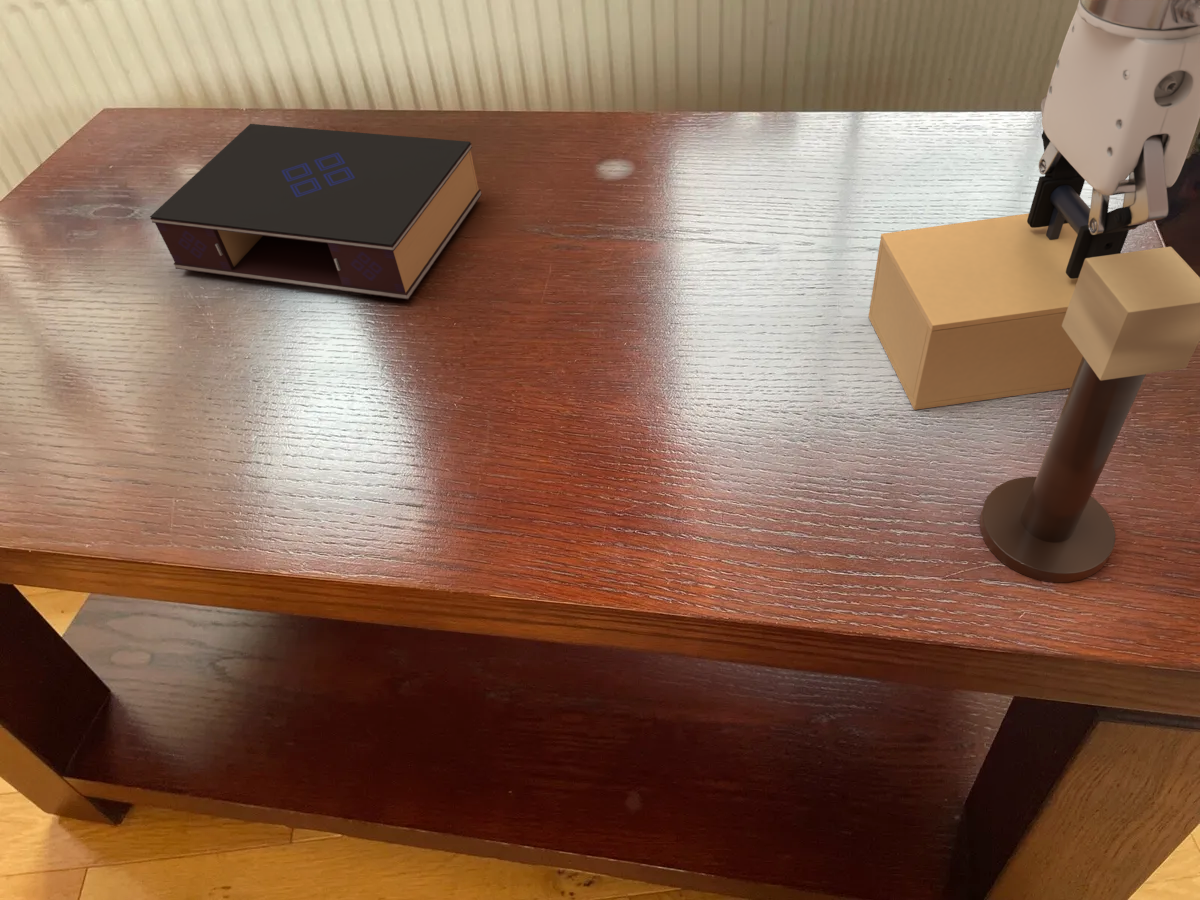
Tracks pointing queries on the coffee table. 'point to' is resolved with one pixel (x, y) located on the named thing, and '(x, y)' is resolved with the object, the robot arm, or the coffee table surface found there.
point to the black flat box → (322, 209)
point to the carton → (967, 349)
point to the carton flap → (991, 265)
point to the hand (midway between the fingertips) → (1068, 245)
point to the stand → (1063, 489)
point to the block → (1135, 313)
